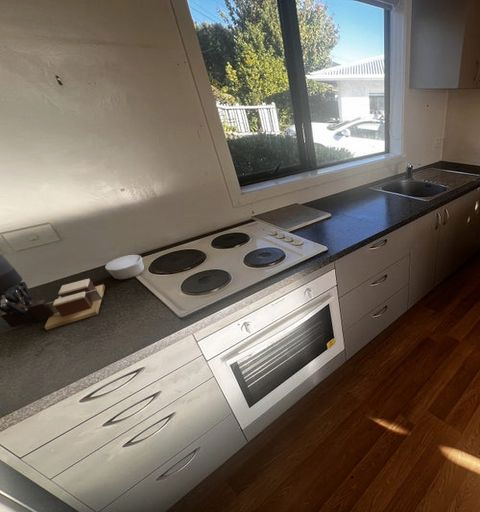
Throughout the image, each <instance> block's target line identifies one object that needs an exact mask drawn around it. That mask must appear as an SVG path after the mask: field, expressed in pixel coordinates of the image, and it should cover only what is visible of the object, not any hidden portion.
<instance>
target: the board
mask: <svg viewBox="0 0 480 512" xmlns="http://www.w3.org/2000/svg"><path fill="white" fill-rule="evenodd" d="M95 288H96V289H97V292H98V293H99V295H100V296H101V297H102V299H101V300H98V301H95V302H92V303H93V304H92V308H91V309H87V310H84V311H81V312H77V313H74V314H71V315H67V316H64V317H62V316H61V314H60V313H59V312H58V313H55V314H53V316H50V317H48V319H47V321H46V322H45V325H44V328H45V330H46V331H48V330H51V329H55V328H57V327H61V326H64V325H67V324H70V323H74V322H77V321H81V320H84V319H86V318H89V317H93V316H97V315H99V311H100V307H101V303H102V300H103V298H104V297H103V296H104V292H105V290H106V286H105V285H104V284H99V285H96V286H95ZM59 298H61V296H60V295H59V296H58V298H57V299H59Z"/></svg>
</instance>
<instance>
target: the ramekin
mask: <svg viewBox="0 0 480 512" xmlns="http://www.w3.org/2000/svg"><path fill="white" fill-rule="evenodd" d="M104 268H105V270H106V271H107V272H108V273H109V274H110V275H111V277H113V278H114V279H117V280H127V279H131V278H134V277H137V276H139V275H140V274H141V273H142V272H143V271H144V269H145V266H144V262H143V258H142V256H141V255H140V254H129V255H123V256H120V257H117V258H114V259H112V260H111V261H109V262H108V263H106V264H105V266H104Z"/></svg>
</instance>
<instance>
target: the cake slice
mask: <svg viewBox="0 0 480 512" xmlns="http://www.w3.org/2000/svg"><path fill="white" fill-rule="evenodd" d="M58 298H59V297H58ZM58 298H55V300H54V301H55V302H54V304H53V306H54V307H55V308H56V309H57V311H58V312H59V313H60V314H61V316H62V317H64V316H67V315H71V314H74V313H77V312H81V311H84V310H87V309H91V308H92V304H93V303H92V301H91V300H90V298H89V297H88V295H87V294H86V293H85V291H84V292H81V293H77V294H73V295H70V296H66V297H63V298H59V299H58Z"/></svg>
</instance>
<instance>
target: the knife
mask: <svg viewBox="0 0 480 512" xmlns="http://www.w3.org/2000/svg"><path fill="white" fill-rule="evenodd" d="M85 293H86V294H87V295H88V297H89V298H90V300H91V301H92V302H95V301H98V300H101V299H102V300H103V297H101V296H100V295H99V293H98V292H97V290H96V289H95V290H92V291H88V292H85ZM102 300H101V301H102ZM54 302H55V300H54V301H50V302H48V301H47V300H46V298H45V299H42V300H37V301H32V303H30V304H26V305H25V306H26V307H27V309H28V310H29V311H30V312H31V313H32V314H33V316H34V317H35V318H36V319H35V321H32V322H29V323H25V322H24V321H23V320H22V319H21V317H20V316H19V315H16V316H10V315H8V314H7V313H5V312H3V311H1V314H0V317H1V318H2V320H4V321H5V323H7V325H9V327H11V328H12V329H14V328H16V327H19V326H23V325H27V324H31V323H33V322H37V321H40V320H44V319H46V318H49V317H50V316H53V314H55V313H58V311H57V309H56V308H55V307H54V306H53V304H54ZM18 307H20V306H18ZM20 308H21V307H20Z"/></svg>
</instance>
